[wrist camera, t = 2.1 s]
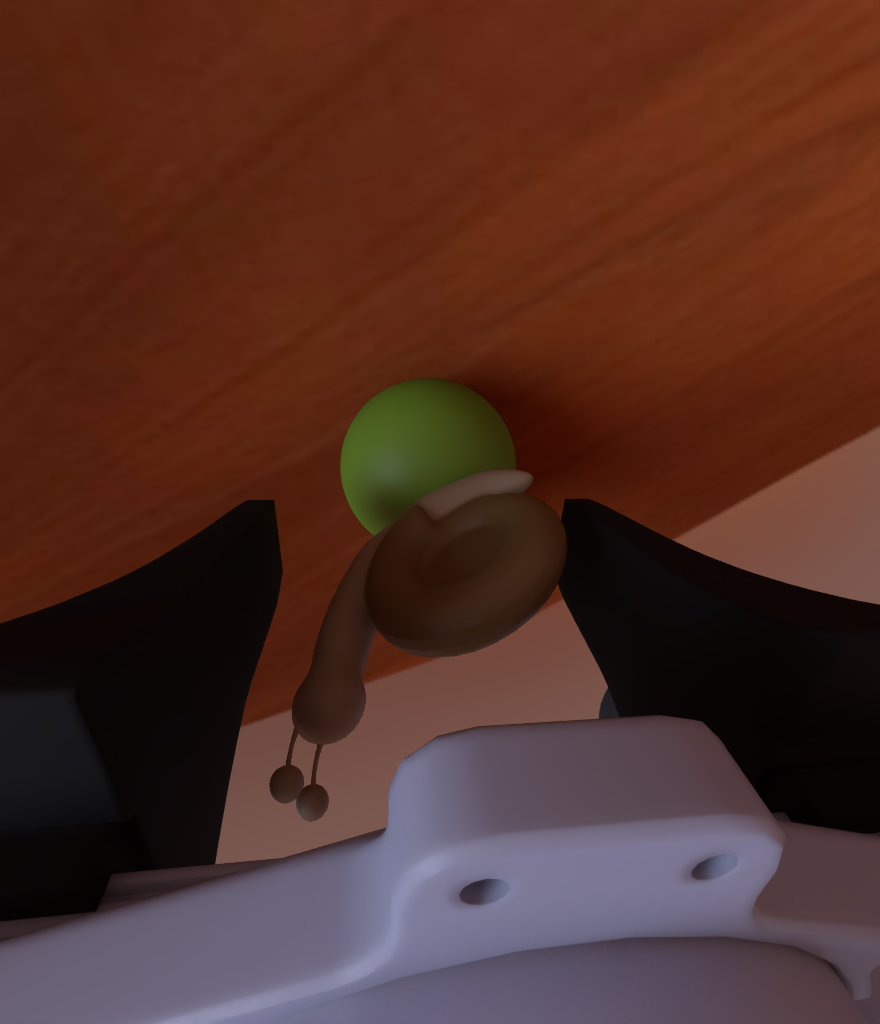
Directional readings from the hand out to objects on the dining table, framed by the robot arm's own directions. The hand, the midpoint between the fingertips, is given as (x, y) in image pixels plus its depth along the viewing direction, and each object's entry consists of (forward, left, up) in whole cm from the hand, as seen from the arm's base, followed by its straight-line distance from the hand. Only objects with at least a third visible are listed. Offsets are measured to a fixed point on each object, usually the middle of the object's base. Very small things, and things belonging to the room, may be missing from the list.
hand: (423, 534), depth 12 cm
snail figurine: (0, 0, -7) cm, 7 cm away
